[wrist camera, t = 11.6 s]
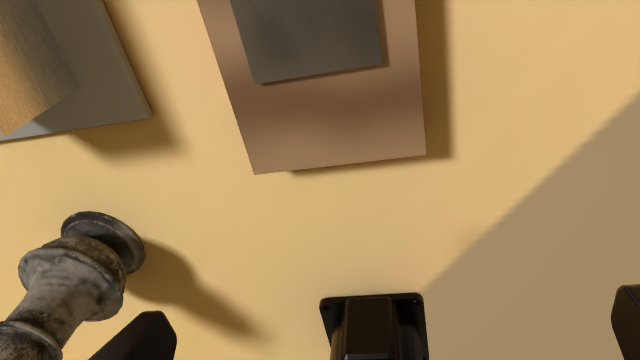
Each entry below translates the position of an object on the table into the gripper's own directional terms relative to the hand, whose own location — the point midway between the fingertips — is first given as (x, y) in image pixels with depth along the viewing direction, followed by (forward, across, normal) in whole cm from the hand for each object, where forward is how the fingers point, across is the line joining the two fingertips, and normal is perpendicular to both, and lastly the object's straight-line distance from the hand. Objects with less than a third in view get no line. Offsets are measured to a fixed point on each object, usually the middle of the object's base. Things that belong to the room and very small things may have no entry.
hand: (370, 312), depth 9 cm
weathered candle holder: (+13, +18, +8) cm, 24 cm away
